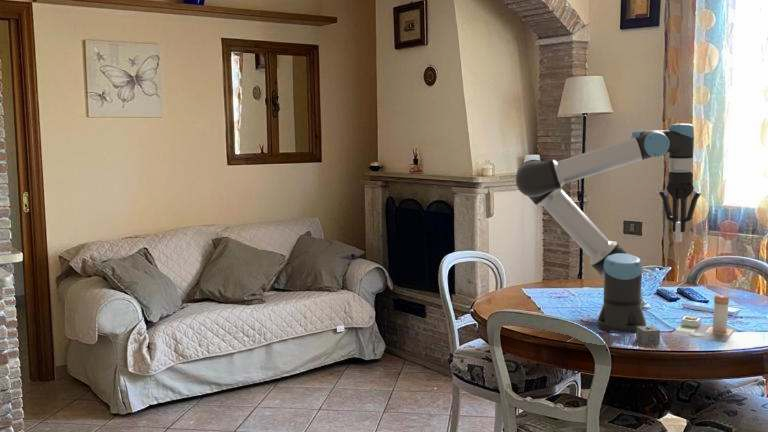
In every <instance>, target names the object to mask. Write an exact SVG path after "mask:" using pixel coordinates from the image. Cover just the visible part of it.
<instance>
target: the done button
mask: <svg viewBox="0 0 768 432" xmlns="http://www.w3.org/2000/svg"><path fill="white" fill-rule="evenodd" d="M695 317H696V316H695ZM695 317H694V316H689V317H686V320H693V321H696V318H697V317H696V318H695Z"/></svg>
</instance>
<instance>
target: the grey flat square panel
mask: <svg viewBox="0 0 768 432" xmlns="http://www.w3.org/2000/svg"><path fill="white" fill-rule="evenodd" d="M736 330H737V328H734V327H727V330H726V332H715V331H713V324H712V325H711V324H705V323H700V326H699V327H698V328H691V327H684V326H681V324H680V325H679V326H677V327H676V328H675V330H673V331H672V332H671V333H670V335H671V336H677V337H685V338H692V339H699V340H705V341H706V340H707V341H713V342H717V343H718V342H719V343H726V344H727V341H729V339H730V338H731V337H732V335H733V334H734V333H735V332H736Z"/></svg>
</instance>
